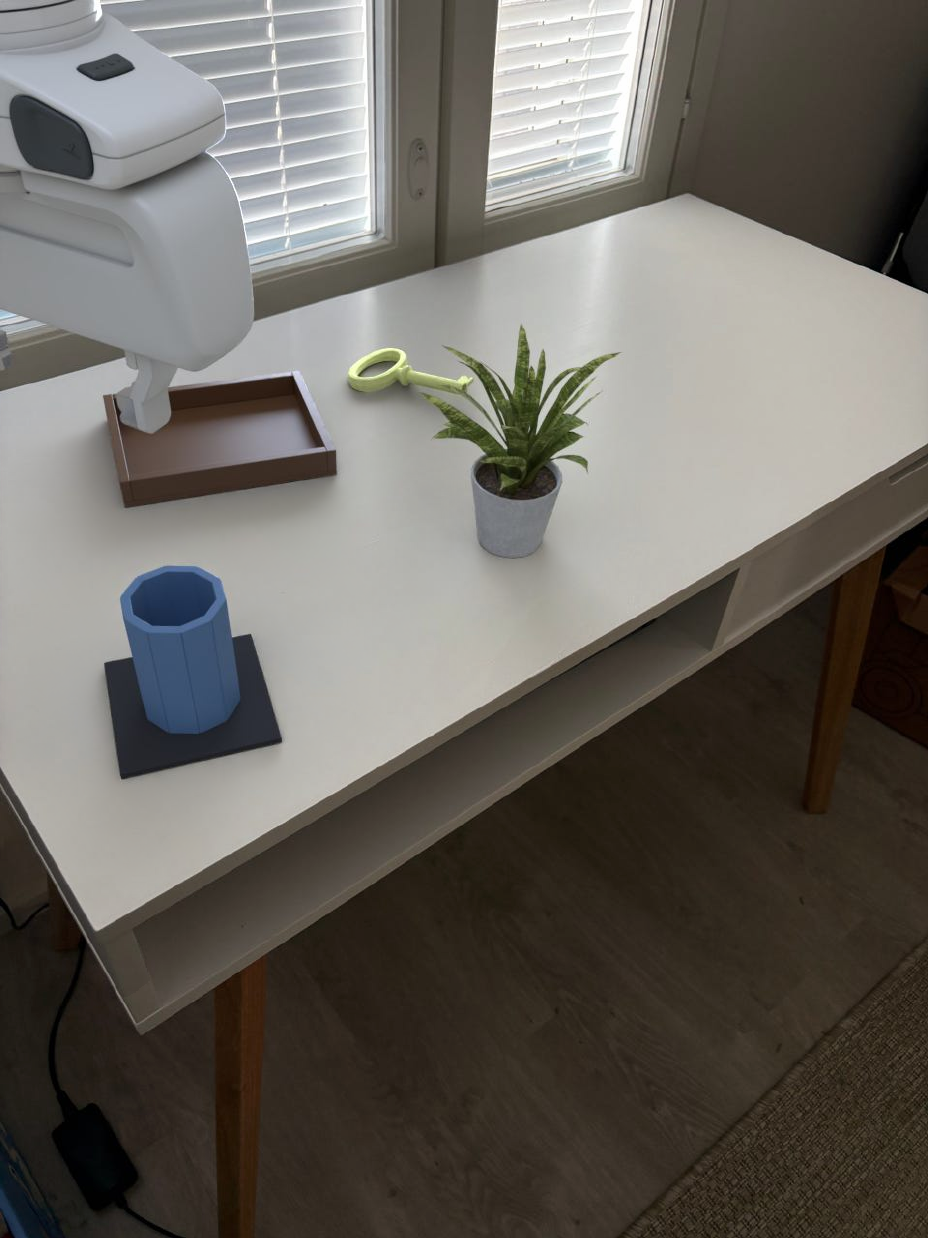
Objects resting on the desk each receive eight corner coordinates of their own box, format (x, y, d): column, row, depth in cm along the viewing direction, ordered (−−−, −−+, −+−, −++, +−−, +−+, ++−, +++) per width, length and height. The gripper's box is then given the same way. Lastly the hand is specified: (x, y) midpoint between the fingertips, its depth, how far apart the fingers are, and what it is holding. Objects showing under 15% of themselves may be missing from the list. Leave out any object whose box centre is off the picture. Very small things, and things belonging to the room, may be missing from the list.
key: (468, 407, 95) (469, 387, 94) (341, 389, 97) (341, 369, 95) (480, 370, 101) (482, 351, 99) (360, 354, 102) (360, 334, 100)
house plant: (532, 461, 90) (553, 285, 78) (639, 545, 82) (679, 363, 71) (397, 512, 83) (400, 329, 72) (499, 609, 75) (519, 420, 64)
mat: (121, 779, 62) (119, 774, 62) (105, 667, 69) (103, 662, 68) (282, 742, 65) (281, 737, 64) (251, 638, 72) (251, 633, 71)
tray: (124, 507, 82) (119, 482, 80) (107, 419, 91) (102, 394, 89) (337, 474, 87) (336, 449, 85) (300, 393, 96) (299, 370, 94)
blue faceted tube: (151, 744, 64) (127, 643, 57) (139, 675, 68) (115, 573, 62) (247, 723, 65) (233, 622, 59) (229, 657, 69) (214, 556, 63)
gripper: (-279, 41, 39) (-150, 365, 48) (150, 151, 33) (201, 494, 42) (-141, 10, 43) (-48, 313, 53) (261, 102, 37) (284, 424, 47)
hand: (66, 395), depth 47 cm, fingers open, 8 cm apart
